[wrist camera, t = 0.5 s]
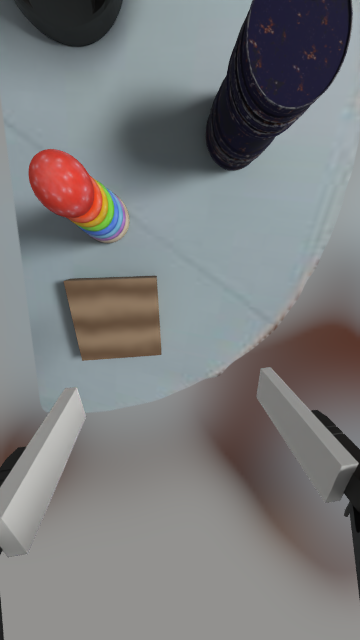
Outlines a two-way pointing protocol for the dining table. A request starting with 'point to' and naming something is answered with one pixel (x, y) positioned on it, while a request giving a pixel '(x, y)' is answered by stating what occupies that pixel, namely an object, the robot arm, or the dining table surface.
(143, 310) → the walnut base
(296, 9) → the storage jar
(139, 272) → the dining table surface
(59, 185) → the stacking toy
